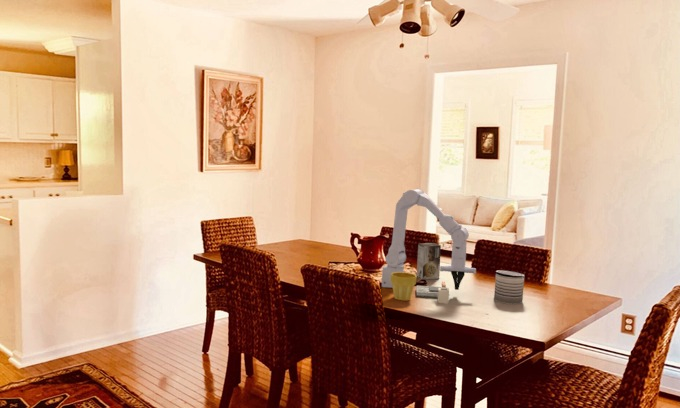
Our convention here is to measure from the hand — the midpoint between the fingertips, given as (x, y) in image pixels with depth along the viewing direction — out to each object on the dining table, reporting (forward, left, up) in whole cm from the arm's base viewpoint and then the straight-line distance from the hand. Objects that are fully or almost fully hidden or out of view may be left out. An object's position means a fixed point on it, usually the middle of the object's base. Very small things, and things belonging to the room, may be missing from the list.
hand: (456, 289), depth 233 cm
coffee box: (-11, +30, -3) cm, 33 cm away
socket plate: (-10, 0, -3) cm, 11 cm away
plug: (-6, -10, -3) cm, 12 cm away
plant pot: (-22, -10, -3) cm, 24 cm away
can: (+21, -1, -3) cm, 21 cm away
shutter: (-8, 0, -1) cm, 8 cm away
